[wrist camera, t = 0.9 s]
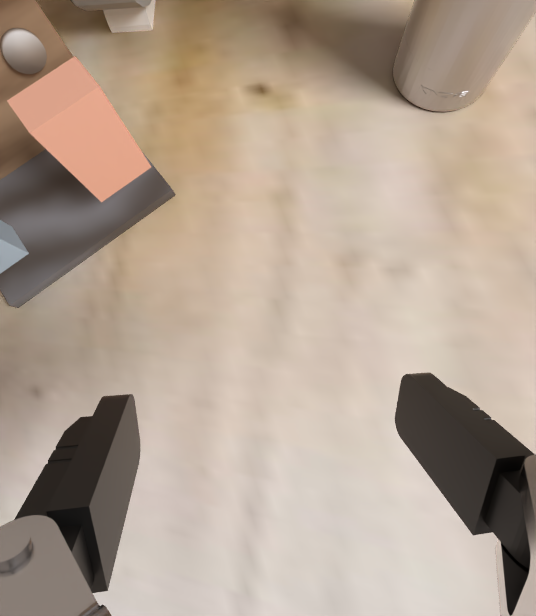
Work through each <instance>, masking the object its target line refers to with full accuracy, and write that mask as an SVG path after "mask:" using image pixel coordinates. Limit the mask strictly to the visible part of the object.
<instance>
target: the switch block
mask: <svg viewBox="0 0 536 616" xmlns="http://www.w3.org/2000/svg"><path fill="white" fill-rule="evenodd" d="M71 58H73V56H72V54H71V53H70V51H69V50H68V48H67V47H66V45H65V44H64V42H63V41H62V39H61V38H60V36H59V35H58V33H57V32H56V30H55V29H54V27H53V26H52V24H51V23H50V21H49V20H48V18H47V17H46V15H45V14H44V12H43V11H42V9H41V8H40V6H39V5H38V3H37V2H36V0H0V220H1V221H3V222H5V223H6V224H8V225H10V226H12V227H13V229H14V231H15V232H16V234H17V235H18V237H19V238H20V240H21V242H22V243H23V245H24V246H25V248H26V250H27V251H28V253H29V254H28V255H26V256H25V257H23V258H22V259H20V260H19V261H18V262H16V263H15V264H13V265H12V266H10V267H9V268H8V269H6V270H5V271H3V272H2V273H1V274H0V290H1V292H2V294H3V295H4V297H5V299H6V300H7V302H8V304H9V305H10V306H13V307H17V308H19V307H20V306H21V305H23V304H24V303H26V302H27V301H28V300H30V299H31V298H33V297H34V296H35V295H37V294H38V293H40V292H41V291H42V290H44V289H45V288H47V287H48V286H49V285H51V284H52V283H53V282H55V281H56V280H58V279H59V278H60V277H62V276H63V275H65V274H66V273H67V272H69V271H70V270H72V269H73V268H74V267H76V266H77V265H79V264H80V263H81V262H83V261H84V260H86V259H87V258H88V257H90V256H91V255H93V254H94V253H95V252H97V251H98V250H100V249H101V248H102V247H104V246H105V245H107V244H108V243H109V242H111V241H112V240H114V239H115V238H116V237H118V236H119V235H120V234H122V233H123V232H125V231H126V230H127V229H129V228H130V227H132V226H133V225H134V224H136V223H137V222H139V221H140V220H141V219H143V218H144V217H146V216H147V215H148V214H150V213H151V212H153V211H154V210H155V209H157V208H158V207H160V206H161V205H162V204H164V203H165V202H167V201H168V200H169V199H171V198H172V197H174V196H175V193H174V192H173V190H172V189H171V187H170V186H169V185H168V183H167V182H166V181H165V180H164V178H163V177H162V176H161V175H160V173H159V172H158V171H157V170H156V168H155V167H154V166H153V165H152V163H151V162H150V161H149V160H148V158H147V157H146V156H145V155H144V156H145V158H146V159H147V161H148V162H149V164H150V165H151V168H150V169H148V170H147V171H145V172H144V173H143V174H141V175H140V176H138V177H137V178H136V179H134V180H133V181H131V182H130V183H128V184H127V185H126V186H124V187H123V188H121V189H120V190H118V191H117V192H116V193H114V194H113V195H111V196H110V197H109V198H107V199H106V200H104V201H103V202H101V201H100V200H99V199H98V198H96V197H95V196H94V195H93V194H92V193H91V192H90V191H89V190H88V189H87V188H86V187H85V186H84V185H83V184H82V183H81V182H80V181H79V180H78V179H77V178H76V177H75V176H74V175H73V174H72V173H70V172H69V171H68V170H67V169H66V168H65V167H64V166H63V165H62V164H61V163H60V162H59V161H58V160H57V159H56V158H55V157H54V156H53V155H52V154H51V153H50V152H49V151H48V150H47V149H46V148H44V147H43V146H42V145H41V144H40V143H39V142H38V141H37V140H36V139H35V138H34V137H33V136H32V135H31V134H30V133H29V132H28V130H27V129H26V127H25V126H24V125H23V123H22V122H21V120H20V119H19V117H18V116H17V115H16V113H15V112H14V110H13V109H12V108H11V106H10V105H9V103H8V102H7V100H9V99H10V98H12V97H13V96H15V95H16V94H18V93H19V92H21V91H22V90H24V89H25V88H27V87H29V86H30V85H32V84H33V83H35V82H36V81H38V80H39V79H41V78H42V77H44V76H45V75H47V74H48V73H50V72H51V71H53V70H54V69H56V68H57V67H59V66H60V65H62V64H63V63H65V62H67V61H68V60H70V59H71ZM142 153H143V152H142ZM143 154H144V153H143Z"/></svg>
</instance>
